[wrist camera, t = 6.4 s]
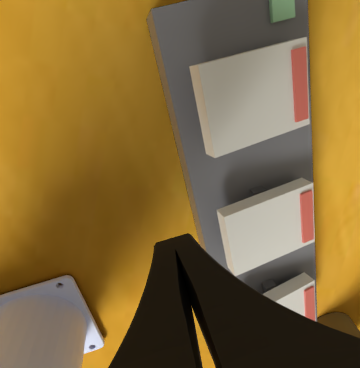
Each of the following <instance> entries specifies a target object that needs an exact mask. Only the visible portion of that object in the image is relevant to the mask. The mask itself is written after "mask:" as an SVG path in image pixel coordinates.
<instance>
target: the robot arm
mask: <svg viewBox="0 0 360 368" xmlns="http://www.w3.org/2000/svg"><path fill="white" fill-rule="evenodd" d="M58 283H62V284H63V285H59V284H58ZM191 306H192V307H191ZM192 308H193V311H194V313H195V316H196V318H197V321H198V323H199V326H200V328H201V331H202V333H203V336H204V339H205V341H206V344H207V346H208V349H209V351H210V354H211V356H212V359H213V361H214V364H215V367H216V368H360V338H358V337H355V336H353V335H350V334H347V333H344V332H342V331H339V330H336V329H333V328H330V327H328V326H325V325H323V324H321V323H318V322H316V321H314V320H311V319H309V318H307V317H305V316H303V315H301V314H299V313H297V312H295V311H293V310H291V309H289V308H287V307H285V306H283V305H281V304H279V303H277V302H275V301H273V300H271V299H270V298H268V297H266V296H264V295H263V294H261V293H259V292H258V291H256V290H255V289H253V288H251V287H250V286H248V285H247V284H245V283H244V282H242V281H241V280H240V279H238V278H237V277H236V276H234V275H233V274H232V273H230V272H229V271H228V270H226V269H225V268H224V267H223V266H221V265H220V264H219V263H218V262H217V261H216V260H215V259H213V258H212V257H211V256H210V255H209V254H208V253H207V252H206V251H205V250H204V249H203V248H202V247H201V246H200V245H199V244H198V243H197V242H196V241H195V239H194V238H193V237H192V235H190V234H188V233H187V234H184V235H180V236H177V237H174V238H170V239H167V240H164V241H160V242H157V243H156V244H155V246H154V253H153V259H152V264H151V268H150V272H149V275H148V279H147V283H146V286H145V289H144V292H143V295H142V297H141V300H140V303H139V306H138V308H137V311H136V313H135V316H134V318H133V320H132V323H131V325H130V327H129V329H128V331H127V333H126V336H125V337H124V339H123V341H122V343H121V345H120V347H119V349H118V351H117V353H116V355H115V357H114V358H113V360H112V362H111V364H110V366H109V367H108V368H203V367H202V362H201V356H200V351H199V345H198V340H197V334H196V329H195V323H194V318H193V312H192ZM103 346H104V338H103V336H102V334H101V332H100V330H99V328H98V326H97V324H96V322H95V320H94V318H93V316H92V314H91V312H90V310H89V308H88V306H87V304H86V302H85V300H84V298H83V296H82V294H81V292H80V290H79V288H78V286H77V284H76V282H75V280H74V278H73V277H72V276H69V275H65V276H61V277H58V278H55V279H52V280H48V281H45V282H42V283H38V284H35V285H32V286H28V287H25V288H22V289H18V290H15V291H12V292H8V293H5V294H2V295H0V368H82V361H83V354H84V353H87V352H91V351H94V350H97V349H100V348H102V347H103Z"/></svg>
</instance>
